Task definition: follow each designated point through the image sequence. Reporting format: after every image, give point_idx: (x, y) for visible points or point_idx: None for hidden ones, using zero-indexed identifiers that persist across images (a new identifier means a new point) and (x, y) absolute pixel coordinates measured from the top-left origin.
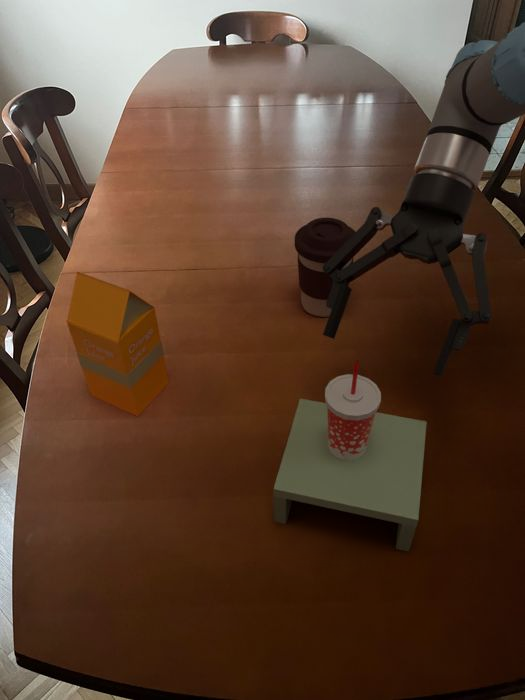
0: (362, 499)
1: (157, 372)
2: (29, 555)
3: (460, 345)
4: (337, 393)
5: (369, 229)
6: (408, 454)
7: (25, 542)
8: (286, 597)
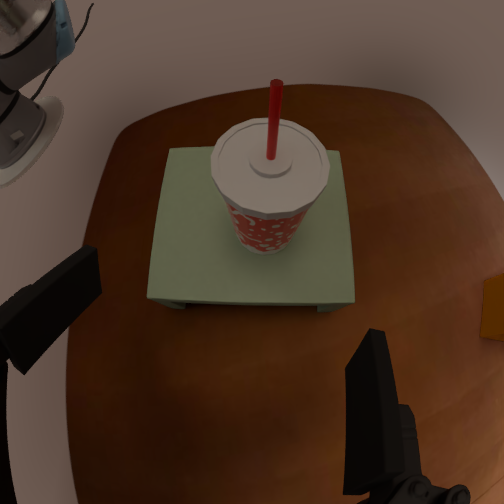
0: None
1: (501, 318)
2: (463, 146)
3: (23, 291)
4: (302, 160)
5: None
6: (174, 229)
7: (471, 154)
8: None
